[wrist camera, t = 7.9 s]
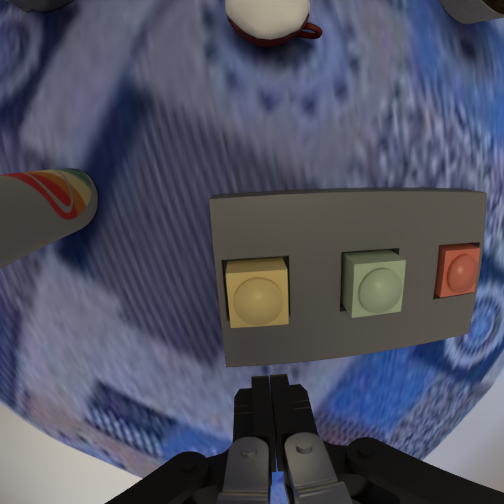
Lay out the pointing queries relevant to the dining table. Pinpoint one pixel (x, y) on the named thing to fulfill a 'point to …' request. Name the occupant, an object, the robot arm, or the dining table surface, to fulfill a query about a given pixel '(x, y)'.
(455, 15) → the house plant
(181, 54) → the dining table surface
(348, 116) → the dining table surface
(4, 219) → the lotion bottle
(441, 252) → the red button
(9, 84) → the dining table surface
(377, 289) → the sage button
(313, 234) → the panel
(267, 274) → the ochre button
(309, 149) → the dining table surface
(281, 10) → the cocoa
